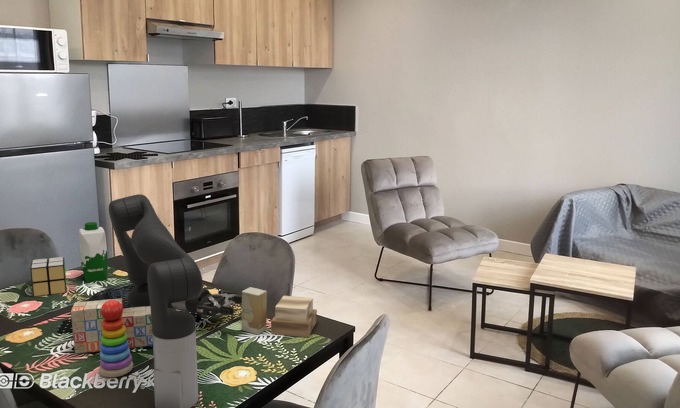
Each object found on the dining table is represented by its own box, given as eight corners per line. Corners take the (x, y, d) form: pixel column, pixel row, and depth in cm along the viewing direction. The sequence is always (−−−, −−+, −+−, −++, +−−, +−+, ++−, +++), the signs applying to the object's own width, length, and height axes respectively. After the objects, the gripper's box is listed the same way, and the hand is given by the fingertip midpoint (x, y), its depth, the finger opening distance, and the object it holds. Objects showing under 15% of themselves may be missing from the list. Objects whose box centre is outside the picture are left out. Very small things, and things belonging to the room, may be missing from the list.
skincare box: (241, 330, 168) (240, 290, 165) (250, 325, 172) (249, 286, 169) (259, 335, 165) (258, 295, 162) (267, 329, 169) (267, 290, 166)
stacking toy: (94, 370, 144) (88, 299, 140) (125, 359, 149) (120, 291, 145) (107, 382, 138) (101, 309, 134) (138, 371, 144) (134, 300, 140)
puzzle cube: (34, 287, 199) (31, 259, 197) (66, 283, 203) (64, 256, 201) (33, 297, 190) (30, 268, 188) (66, 293, 194) (64, 264, 192)
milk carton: (106, 272, 215) (103, 220, 211) (110, 280, 207) (106, 226, 203) (81, 276, 211) (76, 223, 206) (83, 284, 203) (79, 229, 199)
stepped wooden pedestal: (308, 337, 164) (308, 311, 162) (271, 333, 166) (270, 307, 164) (316, 321, 175) (316, 297, 173) (281, 318, 177) (281, 294, 175)
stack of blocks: (159, 335, 164) (157, 295, 161) (158, 345, 158) (156, 303, 155) (77, 343, 158) (74, 301, 156) (74, 354, 152) (70, 310, 150)
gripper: (177, 295, 165) (228, 302, 161) (202, 279, 179) (250, 285, 174) (178, 320, 167) (229, 327, 162) (203, 302, 180) (250, 309, 176)
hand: (240, 305), depth 168 cm, fingers open, 8 cm apart
